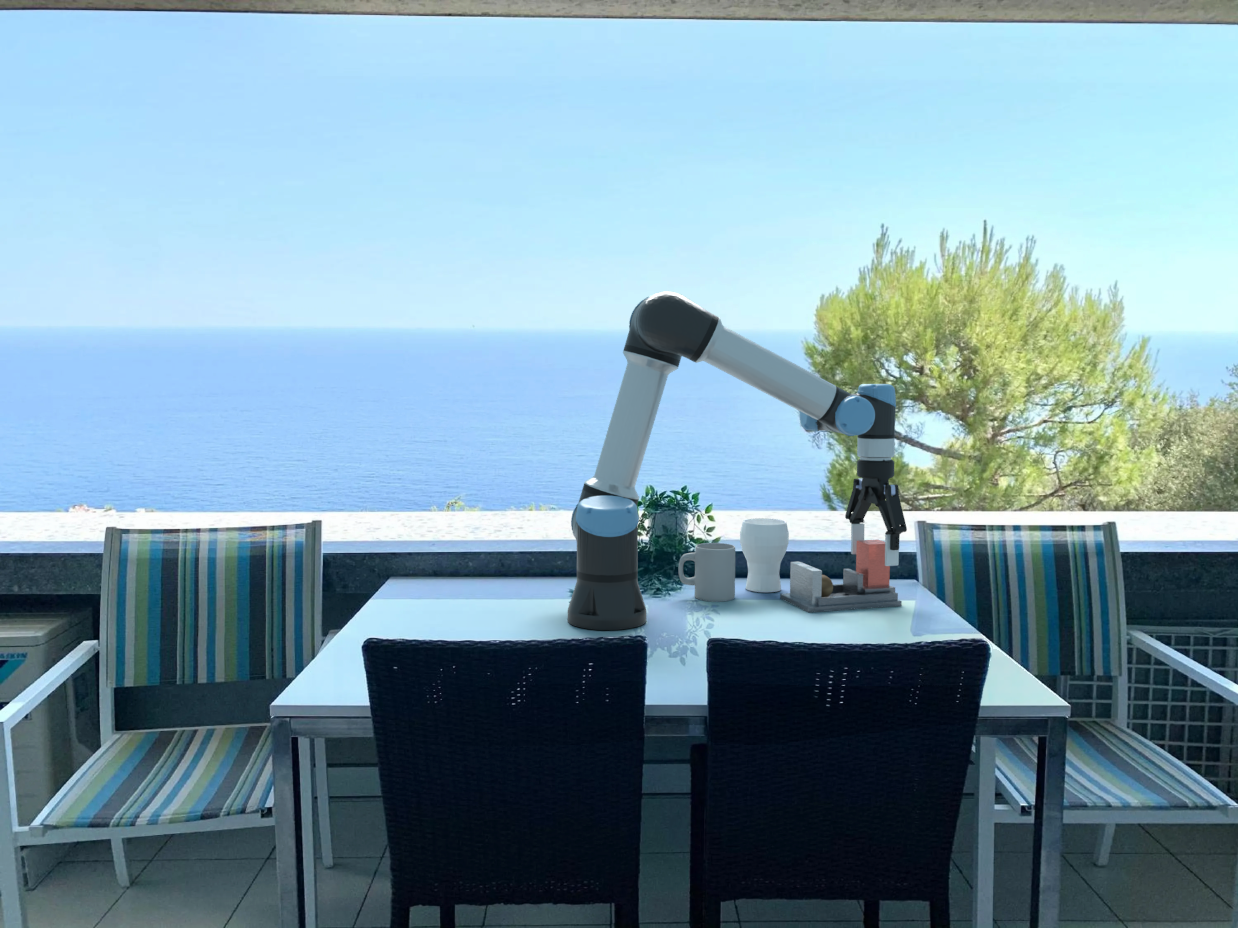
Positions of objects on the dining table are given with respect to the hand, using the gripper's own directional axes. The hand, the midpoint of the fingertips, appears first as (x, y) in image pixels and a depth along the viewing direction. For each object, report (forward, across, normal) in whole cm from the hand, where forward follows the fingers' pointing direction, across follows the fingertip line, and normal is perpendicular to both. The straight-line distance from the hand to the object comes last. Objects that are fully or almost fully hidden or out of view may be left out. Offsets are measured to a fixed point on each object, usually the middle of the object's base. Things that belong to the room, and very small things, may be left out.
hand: (874, 559), depth 215 cm
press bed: (+8, 0, +8) cm, 12 cm away
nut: (+8, 0, +12) cm, 15 cm away
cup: (+9, +16, +18) cm, 25 cm away
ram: (+7, 0, +1) cm, 7 cm away
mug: (+8, +12, +33) cm, 36 cm away
